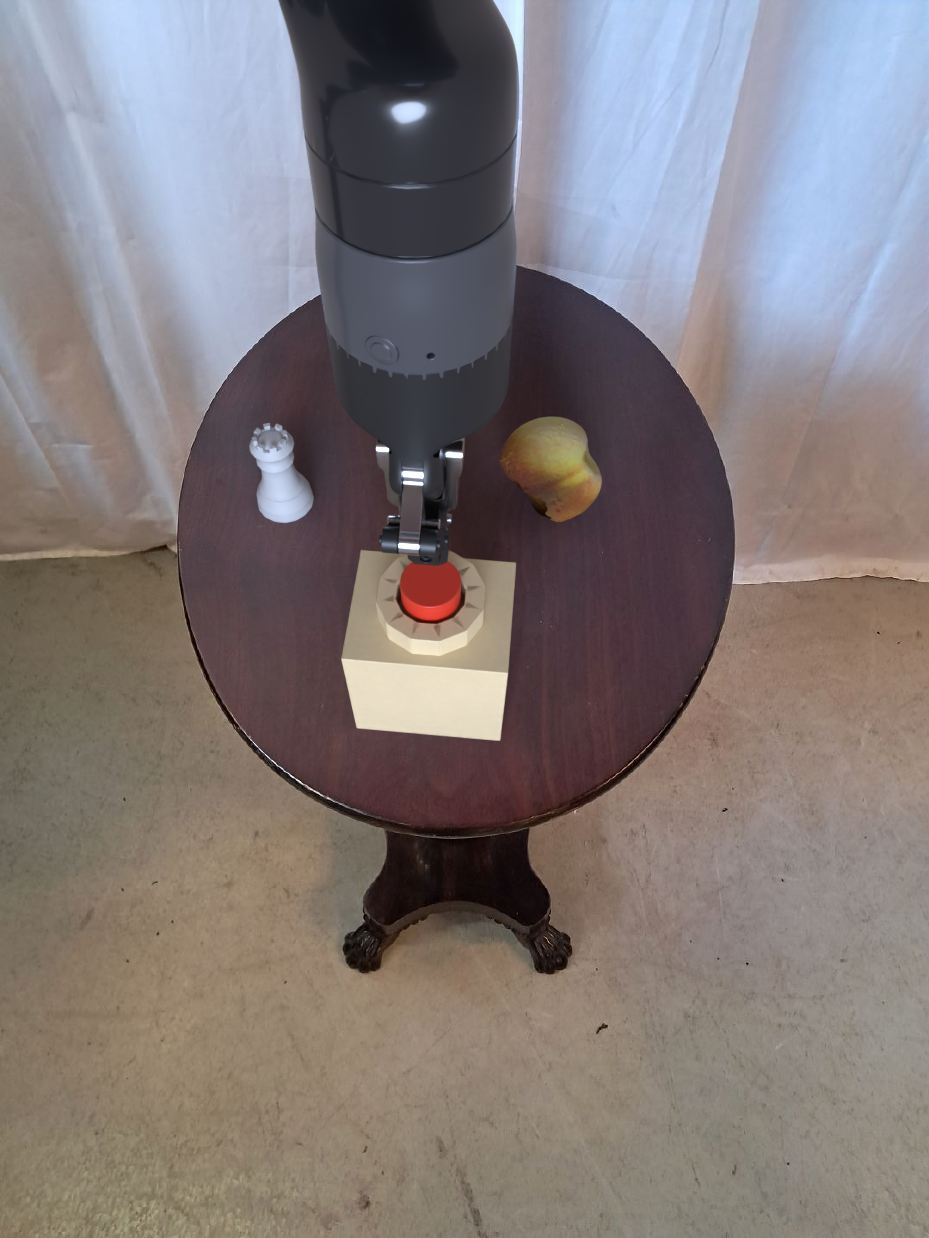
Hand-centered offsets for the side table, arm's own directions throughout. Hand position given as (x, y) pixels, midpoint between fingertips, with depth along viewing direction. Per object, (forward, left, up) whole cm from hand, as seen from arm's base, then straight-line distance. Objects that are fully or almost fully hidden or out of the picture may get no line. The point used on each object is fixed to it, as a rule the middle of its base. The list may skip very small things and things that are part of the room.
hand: (429, 552), depth 51 cm
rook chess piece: (-14, +15, -17) cm, 26 cm away
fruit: (+7, +17, -17) cm, 25 cm away
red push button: (0, 0, -5) cm, 5 cm away
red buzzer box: (0, 0, -17) cm, 17 cm away
